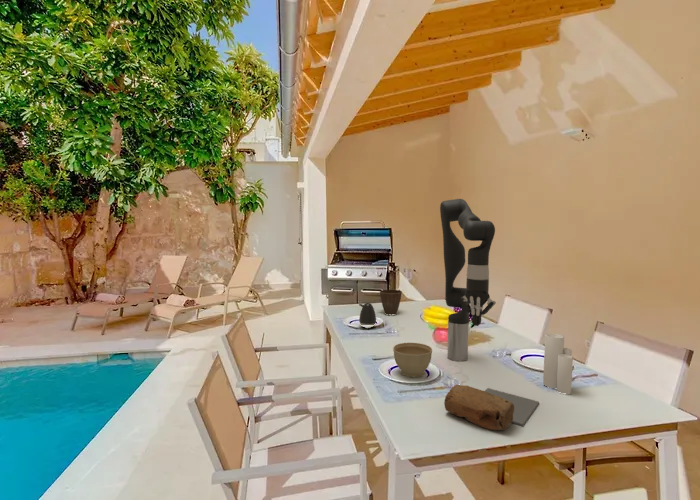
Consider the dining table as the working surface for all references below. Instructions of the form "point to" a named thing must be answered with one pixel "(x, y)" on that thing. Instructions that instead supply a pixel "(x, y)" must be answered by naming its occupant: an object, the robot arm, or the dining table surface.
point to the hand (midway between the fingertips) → (476, 325)
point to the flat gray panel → (517, 406)
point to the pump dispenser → (367, 314)
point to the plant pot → (390, 300)
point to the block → (479, 407)
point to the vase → (557, 364)
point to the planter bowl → (412, 358)
